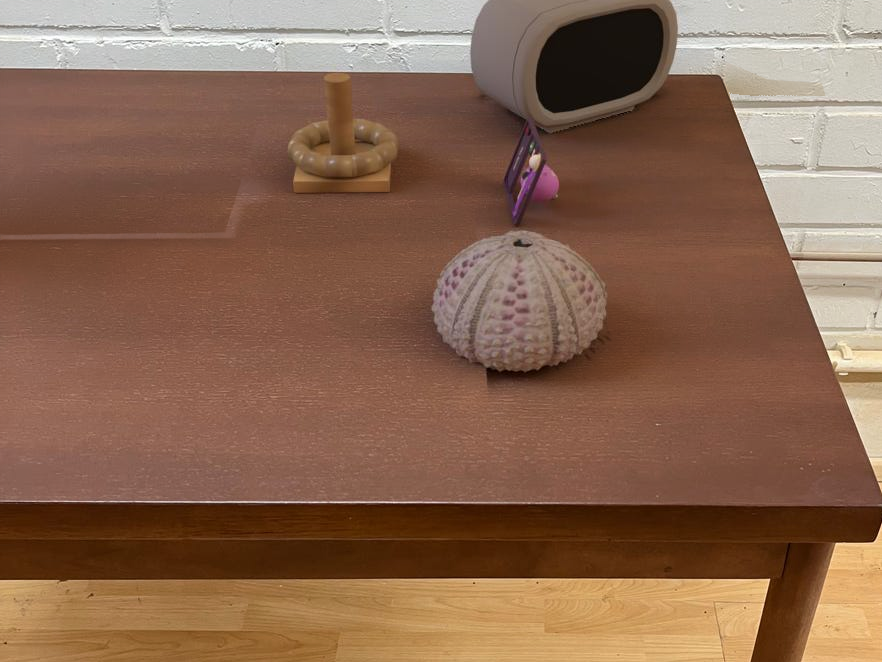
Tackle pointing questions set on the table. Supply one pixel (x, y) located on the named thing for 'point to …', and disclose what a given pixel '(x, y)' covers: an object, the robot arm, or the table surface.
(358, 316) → the table surface
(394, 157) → the ring
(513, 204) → the purple toy package
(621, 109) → the alarm clock
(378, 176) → the stand
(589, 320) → the sea urchin shell
